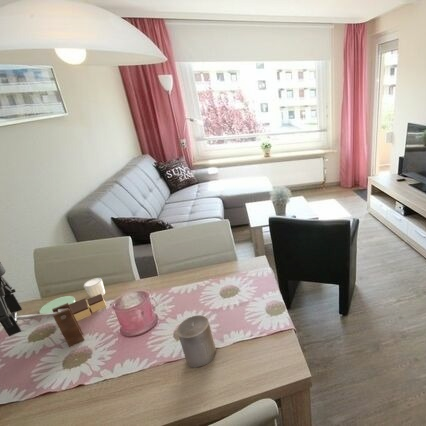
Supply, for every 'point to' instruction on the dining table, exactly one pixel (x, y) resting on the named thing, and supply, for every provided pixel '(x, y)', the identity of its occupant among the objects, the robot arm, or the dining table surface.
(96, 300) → the cake slice
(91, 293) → the white ribbed ramekin
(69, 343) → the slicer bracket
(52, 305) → the plate
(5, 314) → the robot arm
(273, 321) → the dining table surface
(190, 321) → the pillar candle
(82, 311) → the cake
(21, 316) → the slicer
